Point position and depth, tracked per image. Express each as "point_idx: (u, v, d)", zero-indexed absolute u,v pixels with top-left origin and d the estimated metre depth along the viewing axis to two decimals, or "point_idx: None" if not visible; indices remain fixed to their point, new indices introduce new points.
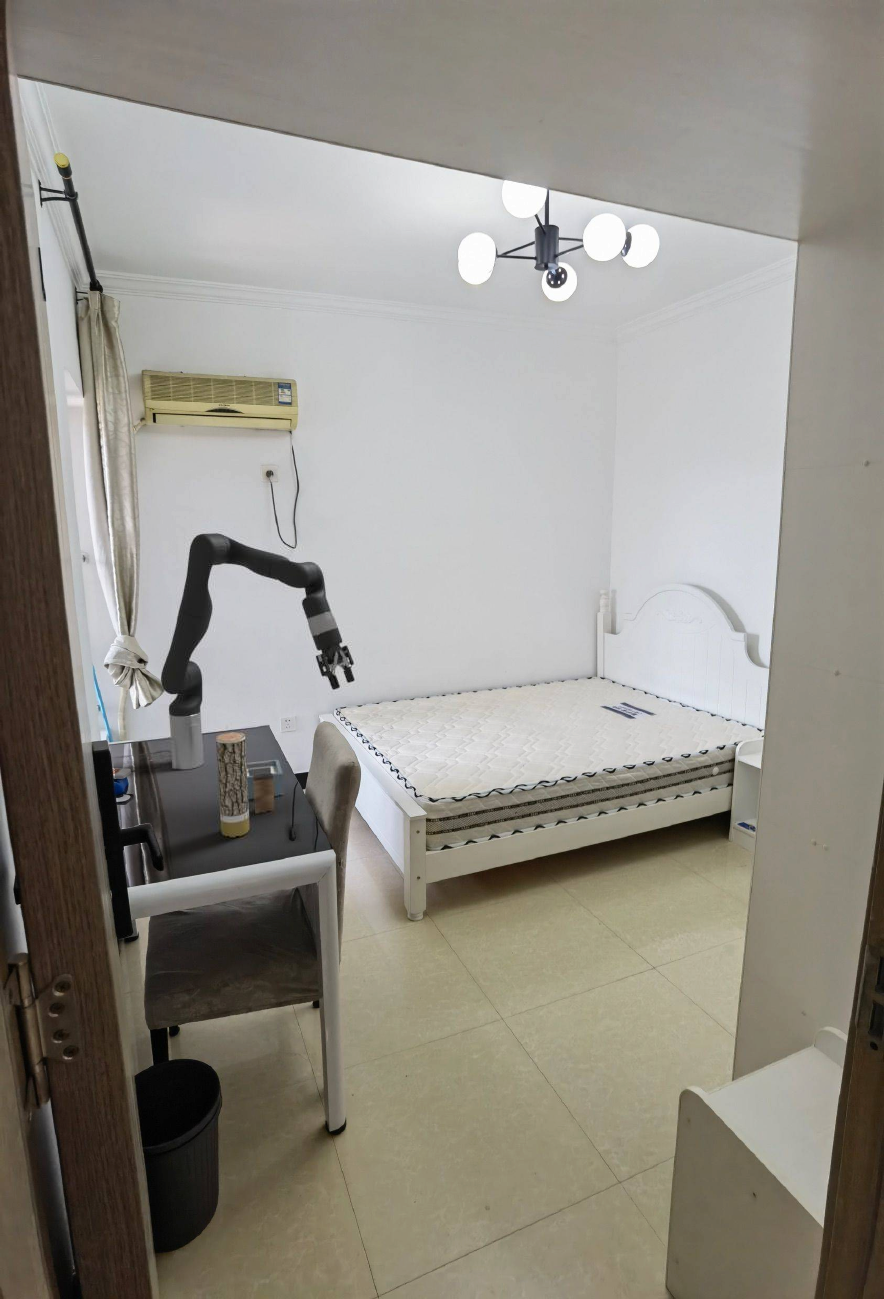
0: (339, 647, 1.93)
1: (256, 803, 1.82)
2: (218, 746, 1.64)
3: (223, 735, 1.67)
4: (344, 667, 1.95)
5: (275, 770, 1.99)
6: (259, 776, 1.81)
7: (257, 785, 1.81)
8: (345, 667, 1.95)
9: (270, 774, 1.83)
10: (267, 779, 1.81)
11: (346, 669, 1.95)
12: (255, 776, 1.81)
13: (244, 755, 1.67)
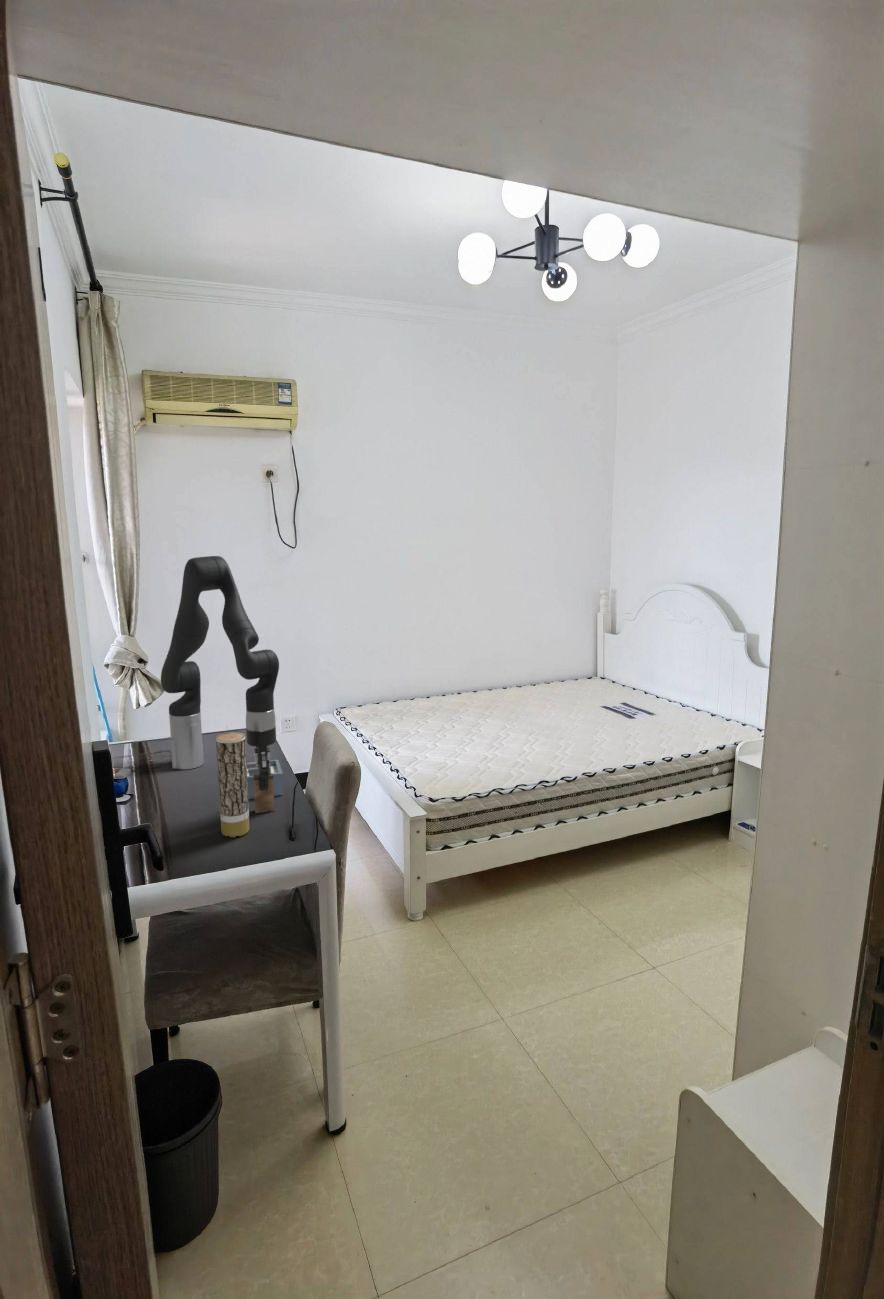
0: None
1: (256, 803, 1.82)
2: (218, 746, 1.64)
3: (223, 735, 1.67)
4: None
5: (275, 770, 1.99)
6: None
7: (257, 785, 1.81)
8: None
9: (270, 774, 1.83)
10: None
11: None
12: (255, 776, 1.81)
13: (244, 755, 1.67)
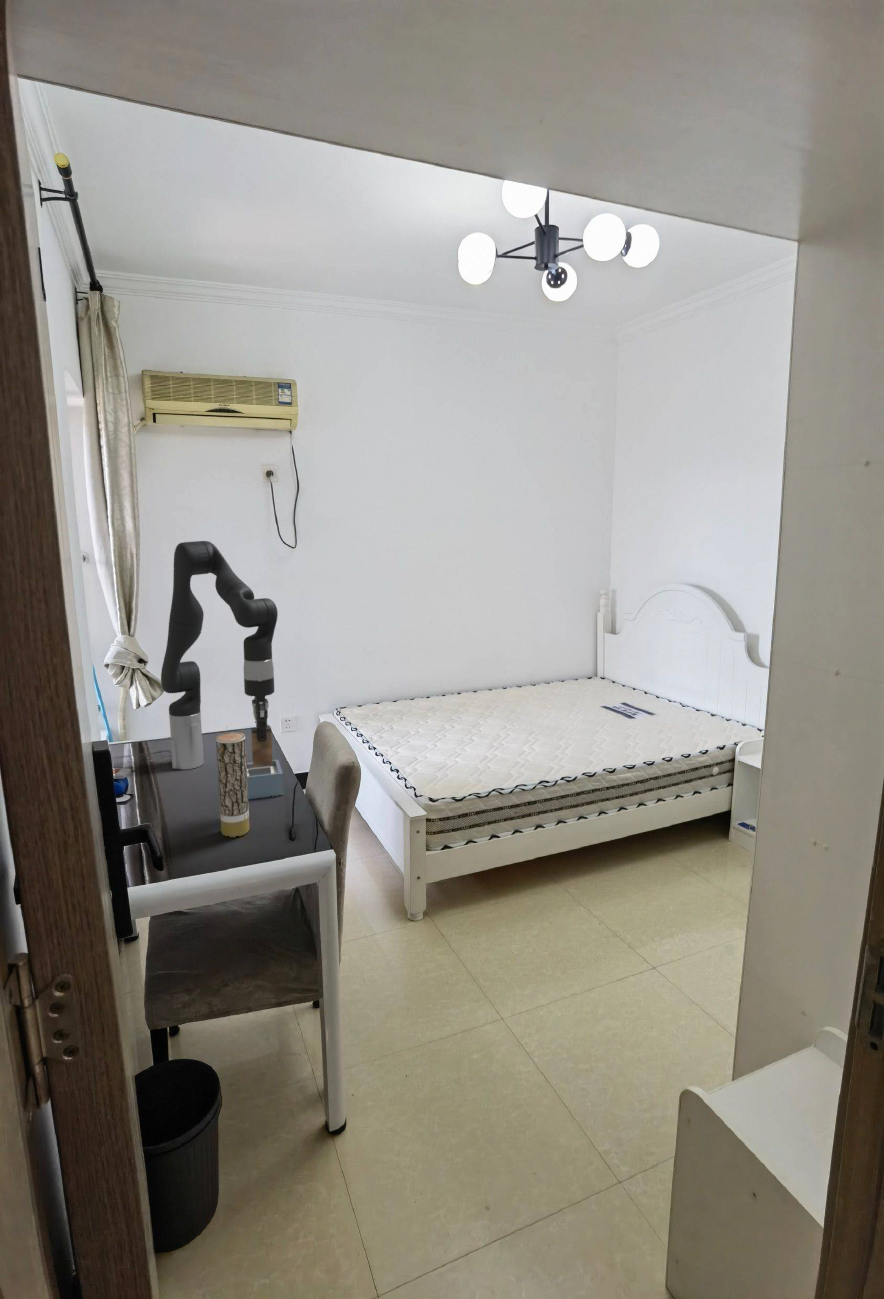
0: None
1: (254, 756, 1.79)
2: (218, 746, 1.64)
3: (223, 735, 1.67)
4: (258, 722, 1.80)
5: (275, 770, 1.99)
6: None
7: (255, 738, 1.78)
8: (259, 722, 1.80)
9: (268, 727, 1.80)
10: None
11: None
12: (253, 729, 1.79)
13: (244, 755, 1.67)
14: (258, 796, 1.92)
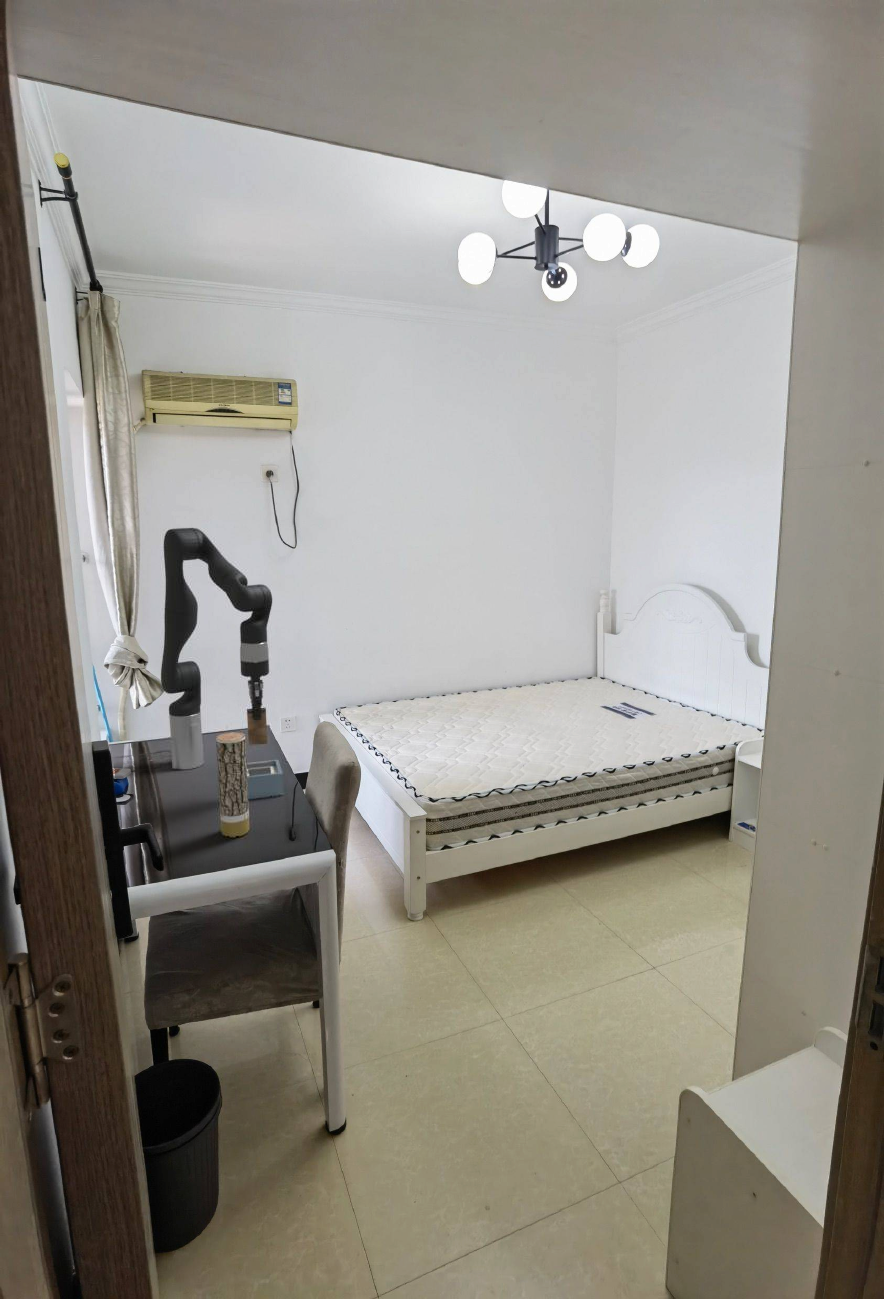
0: None
1: (250, 735, 1.90)
2: (218, 746, 1.64)
3: (223, 735, 1.67)
4: (254, 701, 1.91)
5: (275, 770, 1.99)
6: (252, 709, 1.89)
7: (250, 718, 1.89)
8: (255, 701, 1.91)
9: (263, 708, 1.91)
10: None
11: None
12: (249, 709, 1.89)
13: (244, 755, 1.67)
14: (258, 796, 1.92)
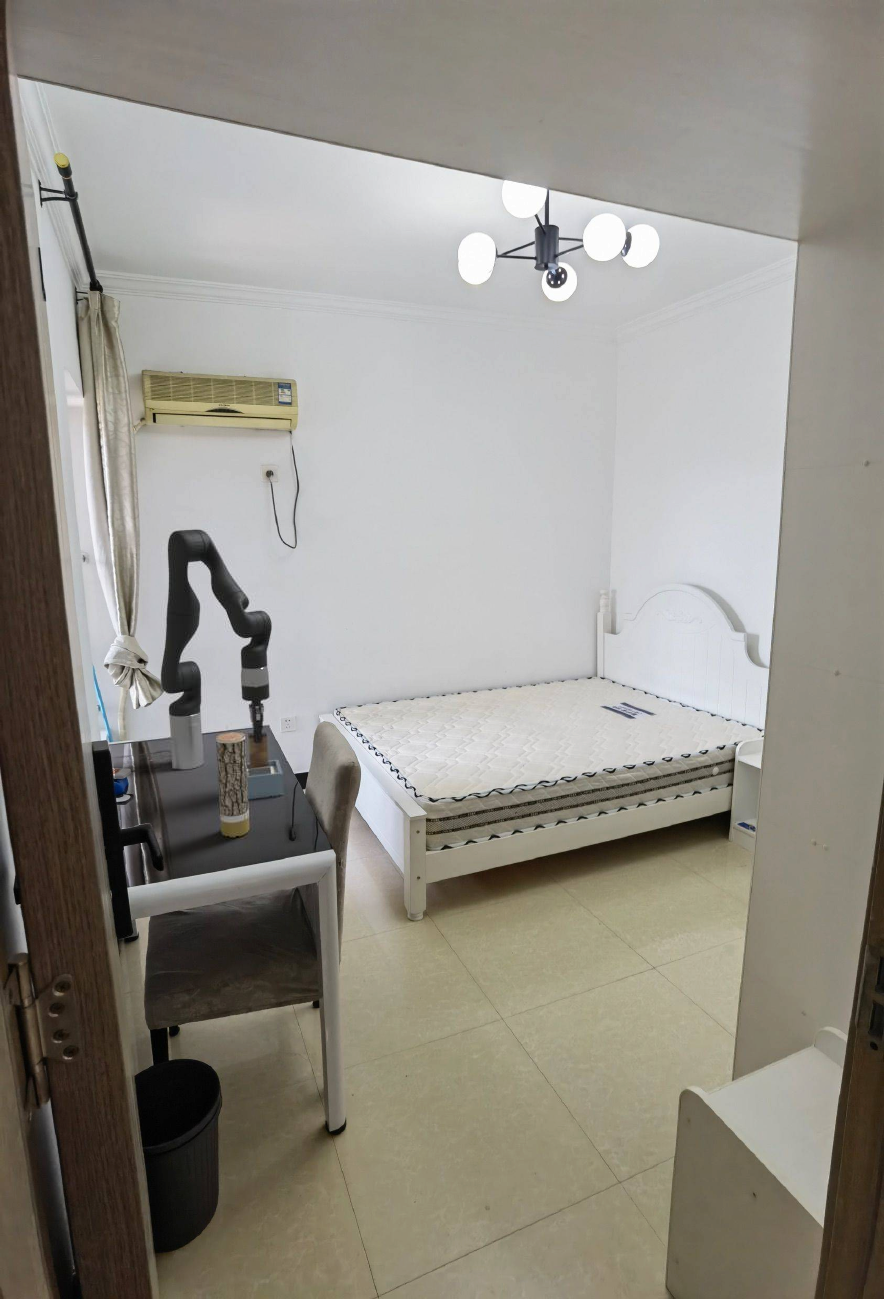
0: None
1: (251, 759, 1.94)
2: (218, 746, 1.64)
3: (223, 735, 1.67)
4: None
5: (275, 770, 1.99)
6: None
7: (252, 742, 1.93)
8: (256, 725, 1.95)
9: (264, 732, 1.95)
10: None
11: None
12: (250, 734, 1.94)
13: (244, 755, 1.67)
14: (258, 796, 1.92)
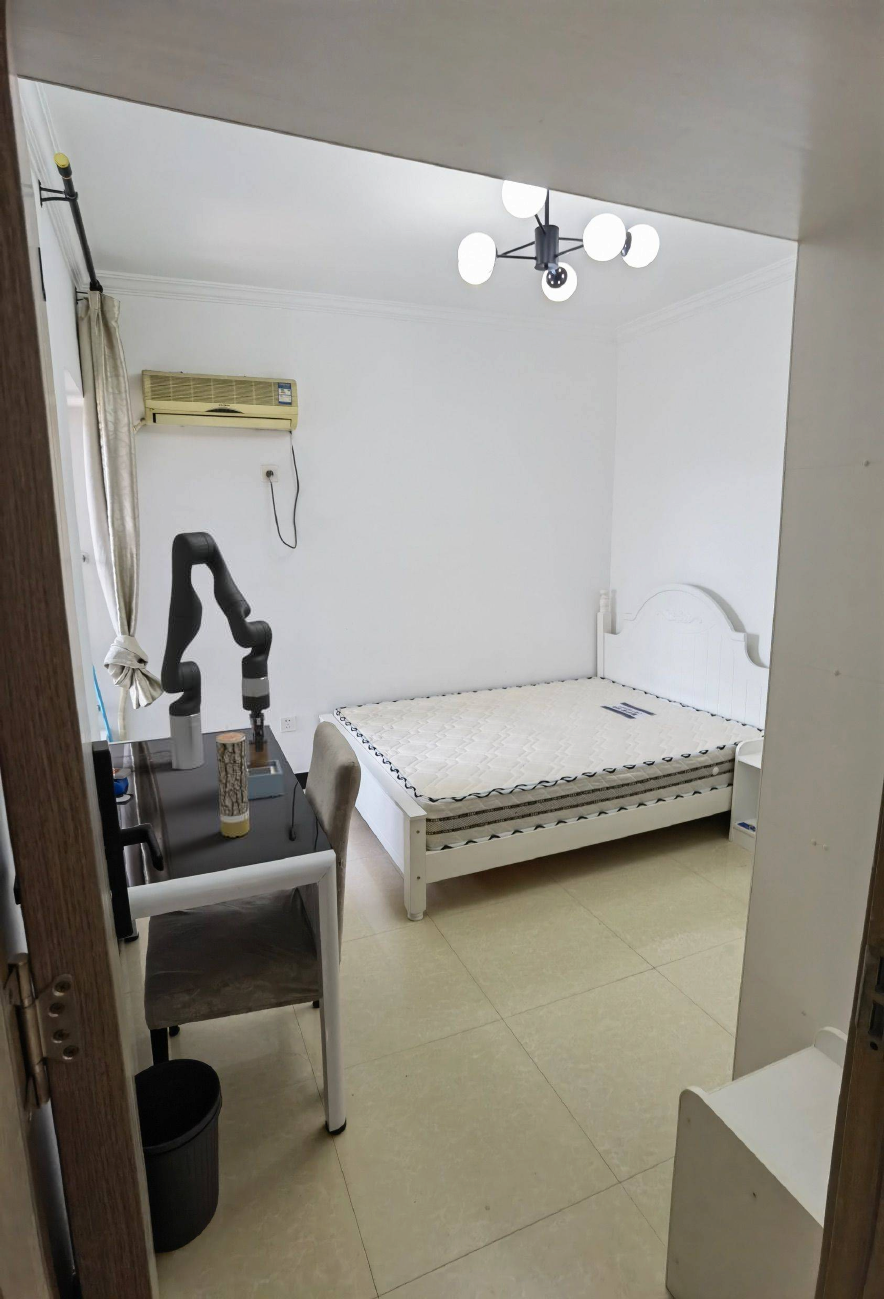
0: None
1: (251, 766, 1.95)
2: (218, 746, 1.64)
3: (223, 735, 1.67)
4: None
5: (275, 770, 1.99)
6: (254, 741, 1.94)
7: (252, 749, 1.94)
8: None
9: (265, 739, 1.96)
10: None
11: None
12: (250, 741, 1.94)
13: (244, 755, 1.67)
14: (258, 796, 1.92)
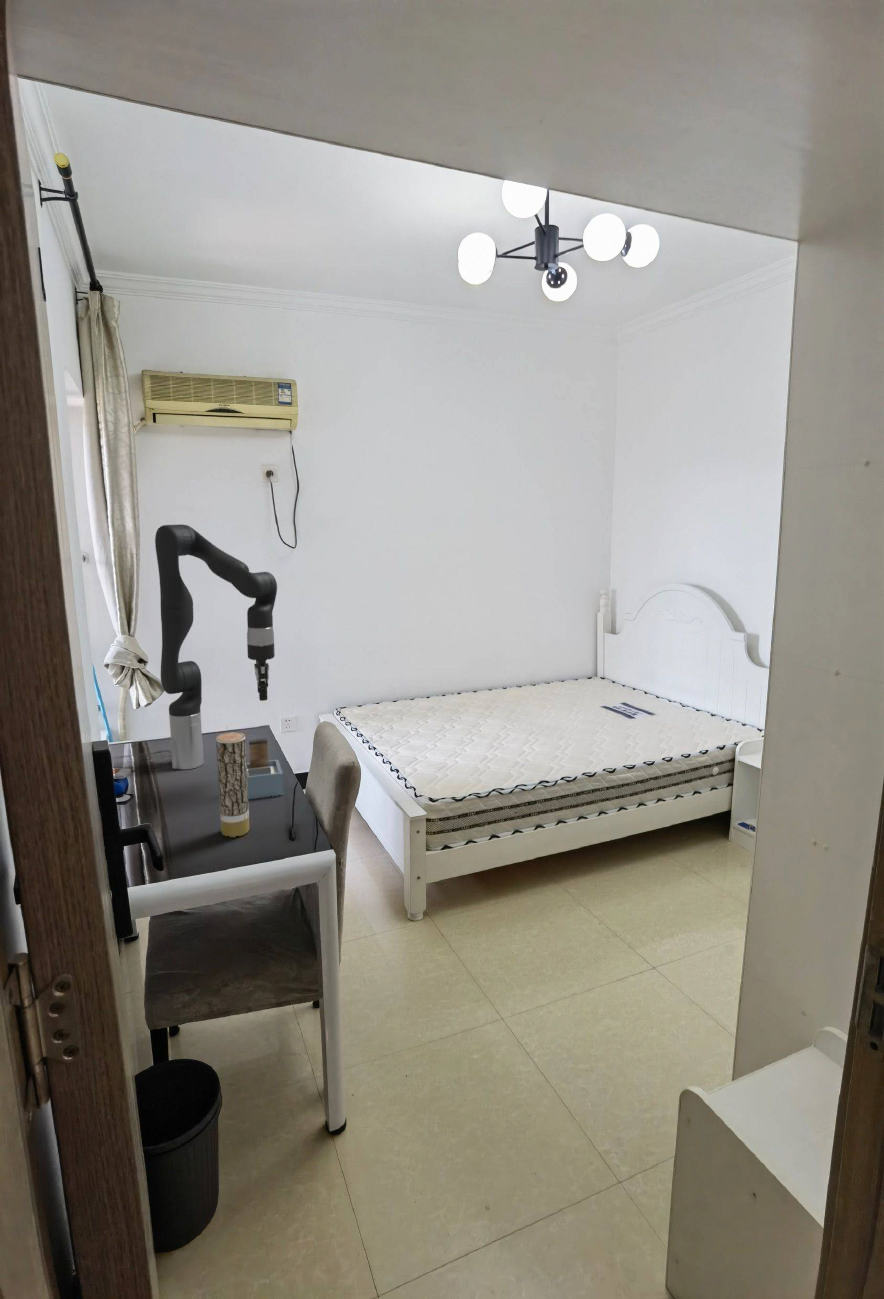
0: None
1: (251, 766, 1.95)
2: (218, 746, 1.64)
3: (223, 735, 1.67)
4: None
5: (275, 770, 1.99)
6: (254, 741, 1.94)
7: (252, 749, 1.94)
8: None
9: (265, 739, 1.96)
10: (262, 744, 1.94)
11: (261, 680, 2.03)
12: (250, 741, 1.94)
13: (244, 755, 1.67)
14: (258, 796, 1.92)
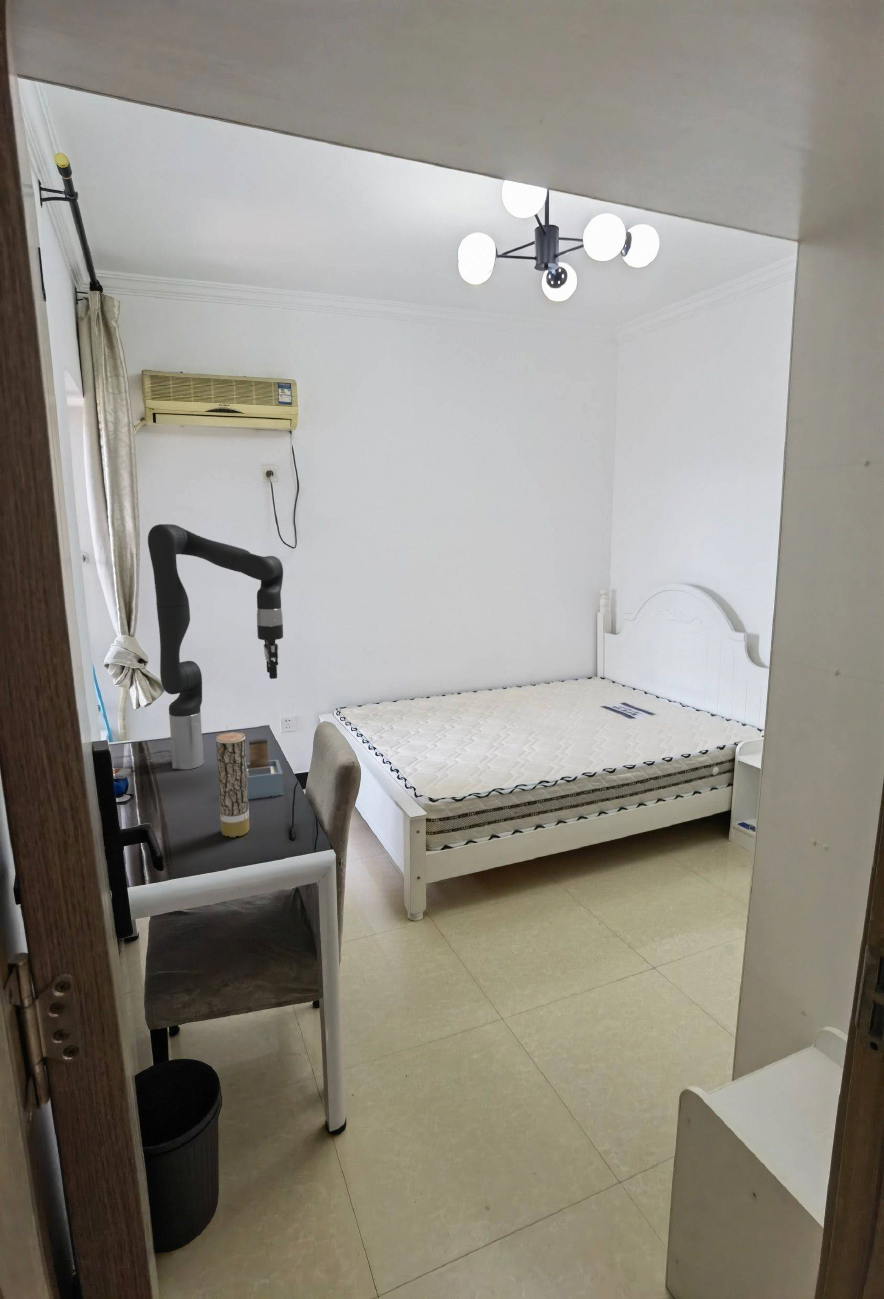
0: None
1: (251, 766, 1.95)
2: (218, 746, 1.64)
3: (223, 735, 1.67)
4: None
5: (275, 770, 1.99)
6: (254, 741, 1.94)
7: (252, 749, 1.94)
8: None
9: (265, 739, 1.96)
10: (262, 744, 1.94)
11: None
12: (250, 741, 1.94)
13: (244, 755, 1.67)
14: (258, 796, 1.92)
